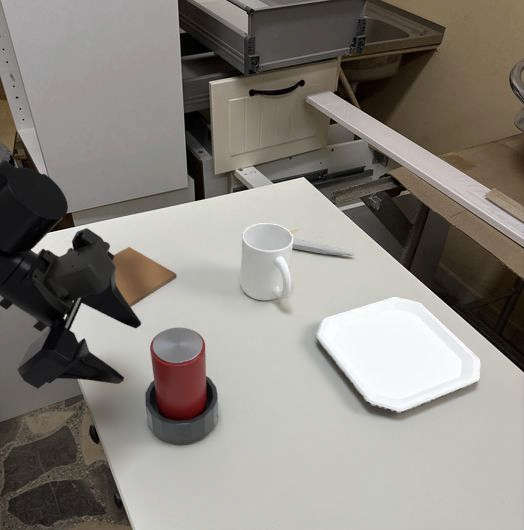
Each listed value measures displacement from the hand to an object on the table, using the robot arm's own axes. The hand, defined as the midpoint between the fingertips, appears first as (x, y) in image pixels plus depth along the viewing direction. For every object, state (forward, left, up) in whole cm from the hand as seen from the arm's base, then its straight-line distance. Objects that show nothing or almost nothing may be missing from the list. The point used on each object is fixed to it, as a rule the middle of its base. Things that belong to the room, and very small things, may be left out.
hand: (130, 352), depth 62 cm
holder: (+6, -1, -12) cm, 13 cm away
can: (+6, -1, -11) cm, 13 cm away
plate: (+39, +7, -12) cm, 41 cm away
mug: (+22, +24, -12) cm, 34 cm away
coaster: (-2, +30, -12) cm, 32 cm away
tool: (+32, +36, -12) cm, 49 cm away
